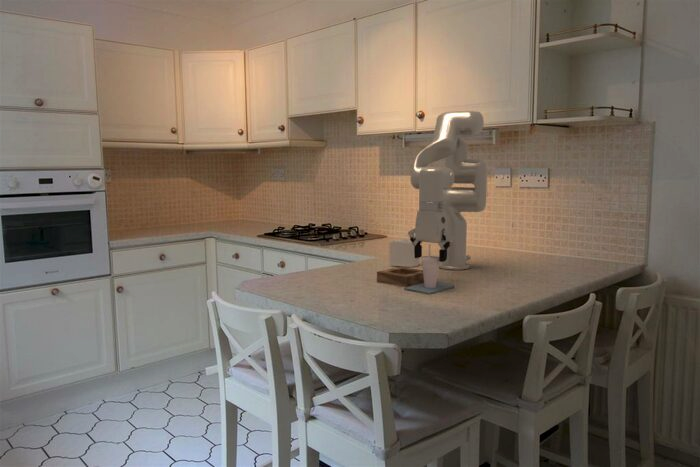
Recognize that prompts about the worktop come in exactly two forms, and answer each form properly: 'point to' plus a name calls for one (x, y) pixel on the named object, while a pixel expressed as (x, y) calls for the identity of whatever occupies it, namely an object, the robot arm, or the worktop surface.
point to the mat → (422, 289)
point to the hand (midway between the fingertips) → (430, 259)
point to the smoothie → (430, 270)
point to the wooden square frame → (401, 276)
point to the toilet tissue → (402, 253)
